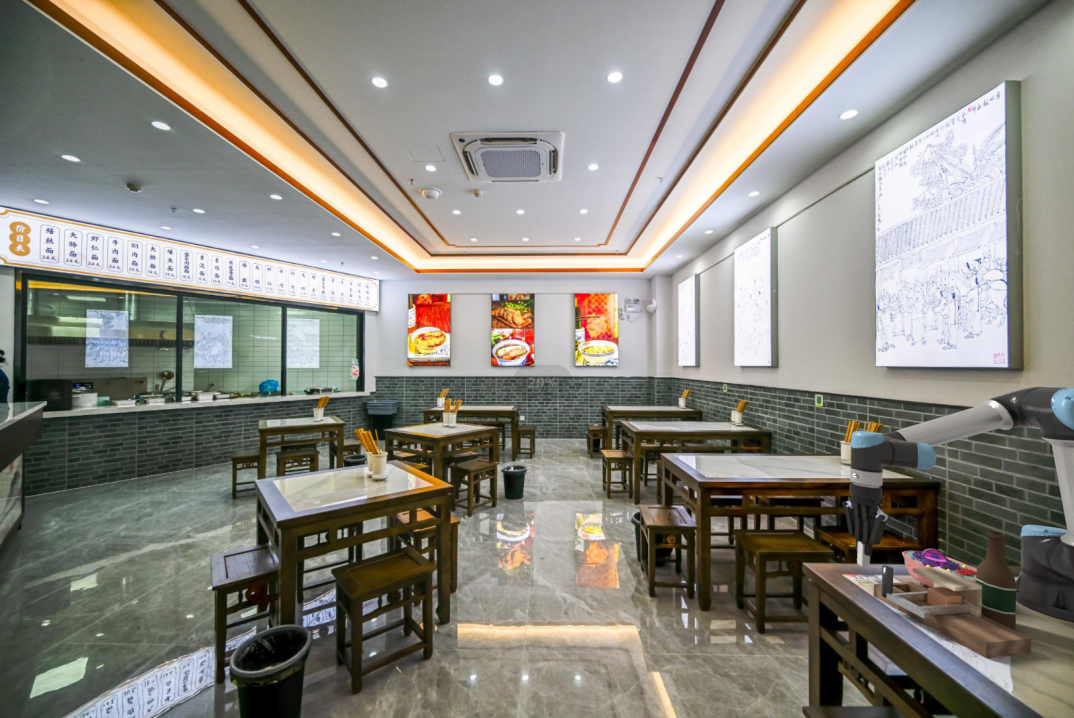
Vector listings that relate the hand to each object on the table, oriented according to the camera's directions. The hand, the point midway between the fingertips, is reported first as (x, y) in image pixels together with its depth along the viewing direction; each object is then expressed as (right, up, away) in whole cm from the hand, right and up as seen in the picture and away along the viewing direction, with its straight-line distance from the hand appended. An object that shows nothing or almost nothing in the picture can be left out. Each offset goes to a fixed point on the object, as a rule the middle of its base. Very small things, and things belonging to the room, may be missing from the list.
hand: (863, 564), depth 122 cm
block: (+14, -6, -10) cm, 18 cm away
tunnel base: (+13, -10, -11) cm, 20 cm away
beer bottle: (+27, -11, -11) cm, 31 cm away
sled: (+9, -6, -10) cm, 14 cm away
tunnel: (+14, -6, -10) cm, 19 cm away
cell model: (+29, -11, +6) cm, 32 cm away
